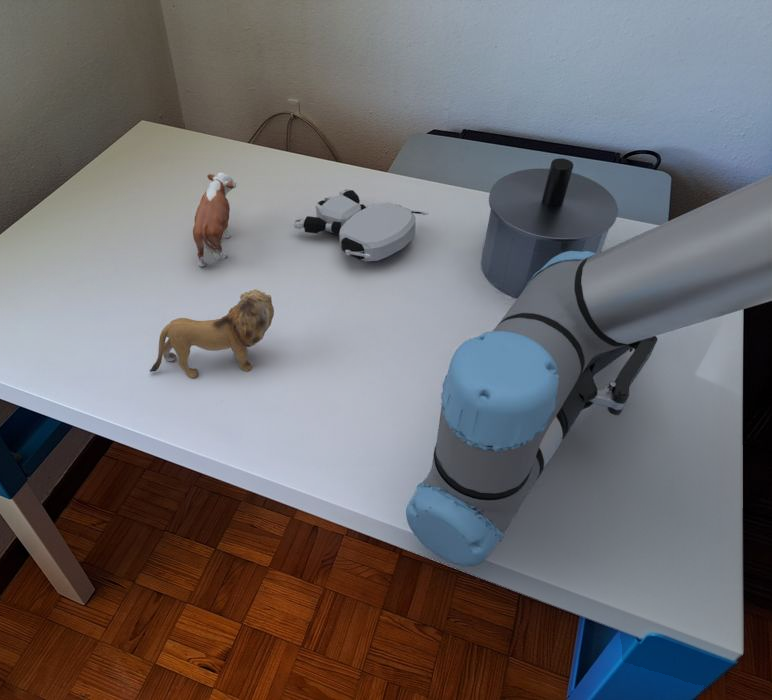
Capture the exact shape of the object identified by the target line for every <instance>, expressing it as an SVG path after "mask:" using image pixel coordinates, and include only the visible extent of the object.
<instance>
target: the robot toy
mask: <svg viewBox="0 0 772 700" xmlns="http://www.w3.org/2000/svg"><path fill="white" fill-rule="evenodd" d="M360 202H361V201H360V196H359V195H358V194H357V192H356V191H354V190H353V189H350V188H345V189H342V190H340V191H339V194H338V195H336V196H326V197H324V200H323V199H322V200H320V201H318V202H316V204H315V214H316V216H310V215H308V216H306V217H305V218H303V217H298V218H296V219H295V220H294V222H293V227H294V228H295V229H298V230H300V229H304V233H310V234H319V233H321V232H324V231H326V232H329V233H330V234H336V235H338V236H339V247H340V248H341V251H342V252H343V253H344V254H345V255H346V256H350V257H353V258H354V259H357V260H359V261H363V262H365V263H366V262H368V263H369V262H378V261H381V260H383V259H386V258H388V257H390V256H392V255H394V254H395V253H397V252H399V251H401V250H403V249H404V248H405V247H406V245H408V244H409V242H411V241H412V239H413V238H414V236H415V235H416V219H417V218H416V216H415V214H417V215H422V216H427V215H429V214H430V213H429V212H428V211H426V210H422V211H419V210H412V209H411V210H410V208H407V207H403V206H401V205H398V204H396V203H392V202H390V201H388V202H387V201H386V202H378V203H373V204H372V205H369V206H366V205H365V204H361V203H360Z"/></svg>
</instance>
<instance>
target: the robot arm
mask: <svg viewBox="0 0 772 700" xmlns="http://www.w3.org/2000/svg"><path fill="white" fill-rule="evenodd" d="M769 302H772V174H770V175H767V176H765V177H763V178H761V179H759V180H757V181H754V182H752V183H750V184H748V185H745V186H742V187H741V188H738V189H737V190H734V191H732V192H730V193H728V194H726V195H722V196H721V197H718V198H717V199H714V200H712V201H710V202H708V203H706V204H703V205H702V206H699V207H697V208H695V209H692V210H690V211H688V212H686V213H684V214H681V215H679V216H677V217H675V218H673V219H671V220H668V221H666V222H664V223H661V224H659V225H656V226H655V227H653V228H651V229H649V230H647V231H644V232H642V233H639V234H637V235H635V236H633V237H630V238H629V239H626V240H624V241H622V242H620V243H617V244H615V245H613V246H610V247H609V248H607V249H605V250H602V251H601V252H600V253H598V254H596V253H593V252H589V251H584V252H581V251H568V252H564V253H561V254H559V255H557V256H555V257H554V258H552V259H551V260H550V261H549V262H548V263H547V264H546V265H545V266H544V267H543V268H542V269H541V270H539V271H538V272H536V273H535V274H534V275H533V277H532V278H531V280H530V281H529V282H528V283H527V285H526V287H525V289H524V290H523V292H522V293H521V295H520V296H519V297H518V298H516V300H515V301H514V303H513V304H512V305H511V307H510V308H509V309H508V311H507V312H506V313H505V315H504V316H503V317H502V319H501V320H500V322H499V323H498V324H497V325H496V326H495V328H494V329H493V330H491V331H486V332H483V333H481V334H480V335H479V336H476V337H474V338H469V339H466V340H465V341H464V342H462V343H461V344H460V345H459V346H458V348H456V350H455V352H454V353H453V355H452V357H451V360H450V362H449V367H448V370H447V373H446V375H445V377H444V380H443V383H442V391H441V393H440V399H441V403H440V404H441V407H440V414H439V421H438V429H437V437H436V442H435V447H434V450H433V455H432V463H431V468H430V471H429V473H428V474H427V476H426V477H425V479H424V480H423V481H422V482H420V483H418V484H417V486H416V490H415V492H414V493H413V495H412V497H411V499H410V500H409V502H408V503H407V506H406V509H405V518H406V522H407V524H408V527H409V529H410V530H411V532H412V533H413V535H414V536H415V537H416V539H417V540H418V541H419V542H420V543H421V544H422V545H423V546H424V547H425V548H426V549H427V550H429V551H430V552H431V553H433V554H434V555H436V556H438V557H439V558H441V559H443V560H444V561H446V562H448V563H450V564H453V565H457V566H462V567H473V566H478V565H480V564H482V563H483V562H484V561H486V559H488V557H489V556H490V554H491V553H492V552H493V551H494V548H495V547H496V546H497V545H498V543H500V542H502V541H503V539H504V535H505V532H506V530H507V529H508V527H509V526H510V524H511V522H512V521H513V519H514V518H515V516H516V514H517V513H518V512H519V509H520V508H521V506H522V504H523V503H524V502H525V500H526V498H527V496H528V495H529V493H530V492H531V490H532V488H533V486H534V484H535V483H536V481H537V480H538V479H539V477H540V476H541V474H542V473H543V471H544V469H545V468H546V467H547V465H548V464H549V462H550V460H551V459H552V457H553V456H554V454H555V453H556V452H557V450H558V448H559V447H560V445H561V444H562V442H563V440H564V438H565V437H566V436H567V434H568V433H569V432H570V430H571V428H572V426H573V425H574V423H575V422H576V420H577V419H578V418H579V416H580V415H581V412H582V411H584V410H585V409H588V408H590V407H591V406H592V405H593V404H595V405H600V406H603V407H607V411H608V413H609V414H611V415H613V416H619V415H621V414H622V412H623V410H624V407H625V405H626V403H627V401H628V399H629V397H630V388H631V386H632V384H633V383H634V381H635V380H636V378H637V377H638V375H639V374H640V372H641V371H642V370H643V368H644V366H645V365H646V363H647V362H648V360H649V358H650V356H651V355H652V353H653V351H654V348H655V346H656V344H657V342H658V337H657V336H659V335H663V334H666V333H670V332H673V331H676V330H679V329H683V328H687V327H690V326H692V325H696V324H700V323H704V322H706V321H709V320H712V319H716V318H720V317H722V316H726V315H729V314H732V313H735V312H740V311H742V310H745V309H749V308H753V307H755V306H759V305H762V304H765V303H766V304H767V303H769ZM633 350H634V351H633ZM632 351H633V352H632ZM627 352H630V353H631V355H630V357H629V358H628V359H627V361H626V363H625V364H624V365H623V366H622V368H621V370H620V372H618V375H617V376H616V378H615V381H610V382H609V383H608V384H605V385H604V386H603V388H602V389H598V388H597V385H596V382H595V379H594V376H595V375H597V374H598V373H599V372H601V371H602V370H604V369H605V368H607V367H608V366H609V365H610V364H611V363H613V362H614V361H616V360H617V359H619V358H620V357H622V356H623V355H625V353H627Z"/></svg>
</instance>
